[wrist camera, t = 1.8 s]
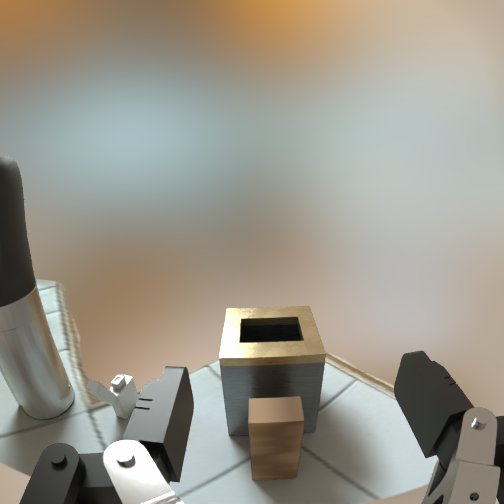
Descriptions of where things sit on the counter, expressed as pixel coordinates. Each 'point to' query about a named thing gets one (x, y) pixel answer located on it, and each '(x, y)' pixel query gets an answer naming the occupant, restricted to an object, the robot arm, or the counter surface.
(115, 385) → the lighter
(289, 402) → the wooden block
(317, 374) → the coin box
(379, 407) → the counter surface
